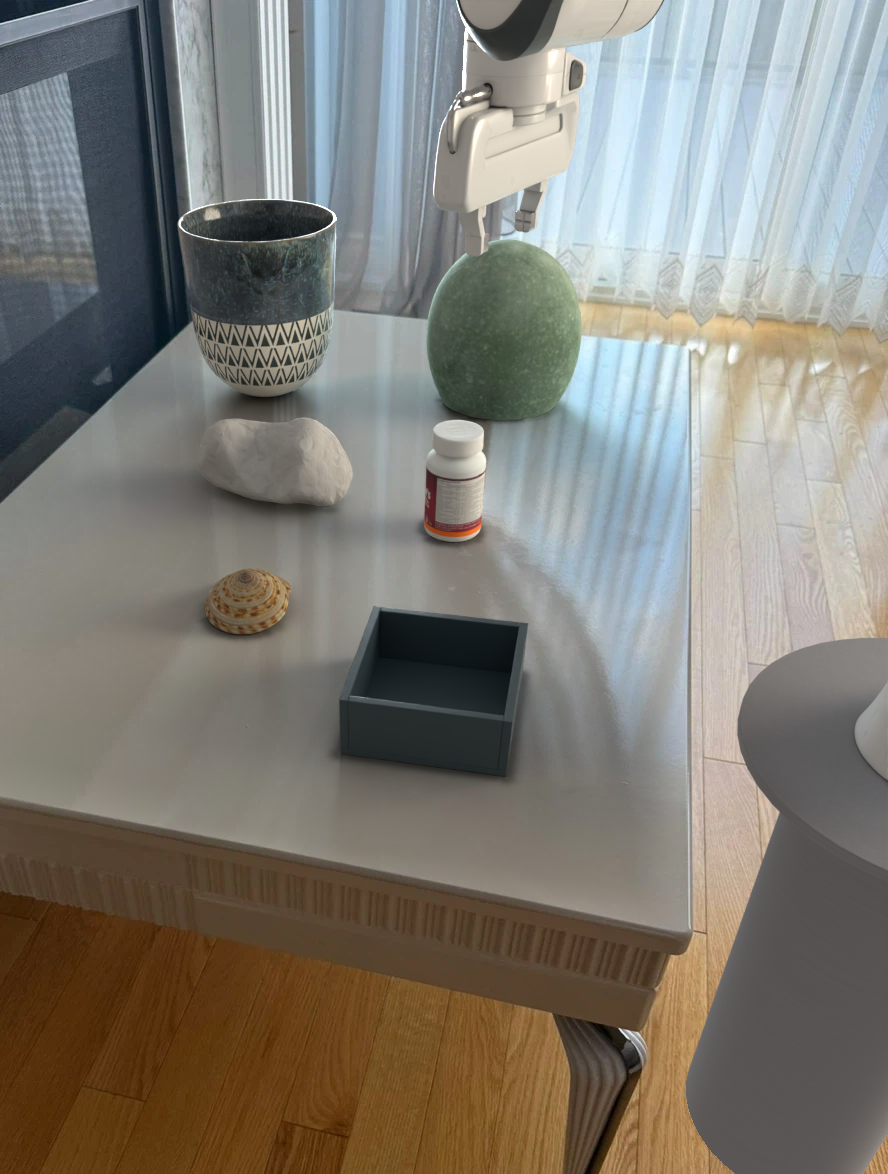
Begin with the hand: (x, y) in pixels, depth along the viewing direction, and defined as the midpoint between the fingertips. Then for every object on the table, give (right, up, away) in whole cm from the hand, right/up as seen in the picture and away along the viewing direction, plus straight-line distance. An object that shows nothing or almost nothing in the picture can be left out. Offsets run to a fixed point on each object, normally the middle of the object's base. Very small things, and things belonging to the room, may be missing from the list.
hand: (501, 241), depth 102 cm
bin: (-8, -46, -13) cm, 48 cm away
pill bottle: (-4, -26, +11) cm, 29 cm away
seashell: (-24, -36, -1) cm, 44 cm away
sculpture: (+5, -4, +37) cm, 37 cm away
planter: (-26, -2, +40) cm, 48 cm away
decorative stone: (-23, -21, +17) cm, 36 cm away
